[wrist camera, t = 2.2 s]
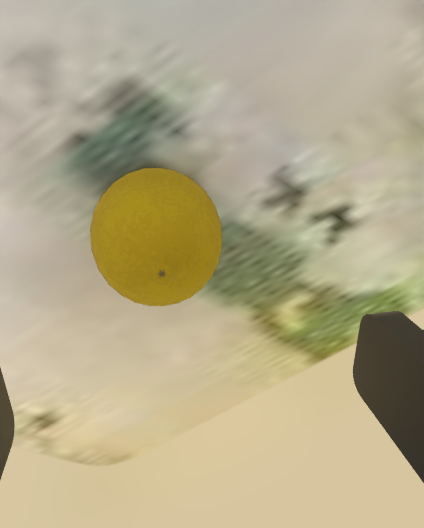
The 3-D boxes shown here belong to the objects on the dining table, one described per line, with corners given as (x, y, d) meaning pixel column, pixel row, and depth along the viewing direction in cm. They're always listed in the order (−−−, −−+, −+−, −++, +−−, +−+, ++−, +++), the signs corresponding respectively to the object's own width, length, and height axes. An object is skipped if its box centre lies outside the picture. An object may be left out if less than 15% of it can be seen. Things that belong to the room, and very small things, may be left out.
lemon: (125, 134, 19) (118, 165, 12) (224, 184, 21) (269, 236, 14) (81, 233, 21) (53, 312, 14) (177, 272, 23) (197, 359, 16)
